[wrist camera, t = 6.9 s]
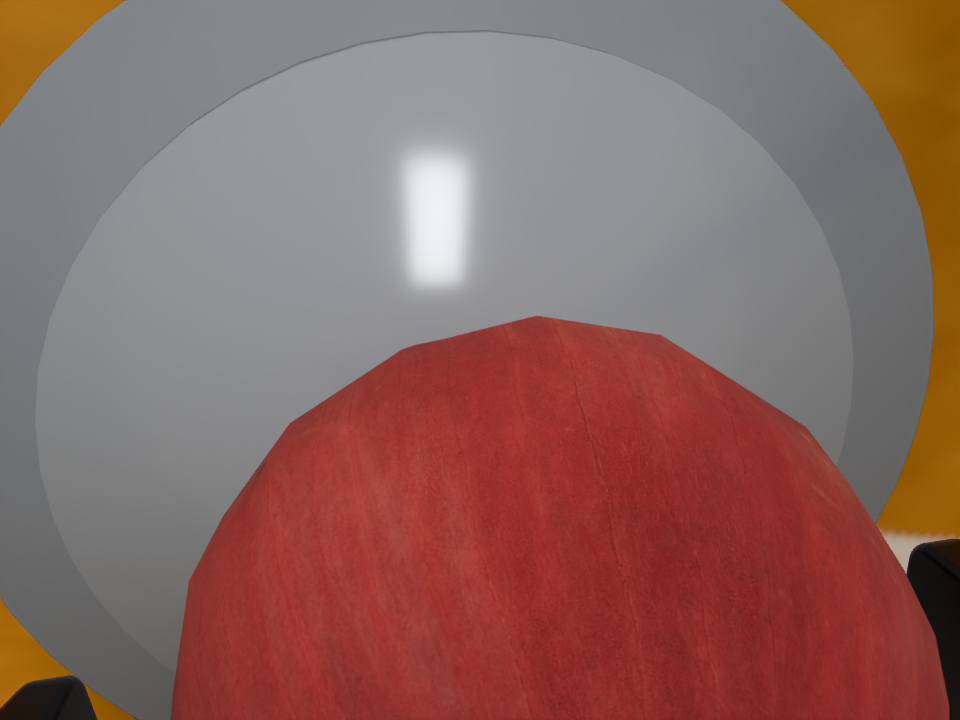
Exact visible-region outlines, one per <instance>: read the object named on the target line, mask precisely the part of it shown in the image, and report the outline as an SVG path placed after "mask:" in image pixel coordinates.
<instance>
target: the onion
mask: <svg viewBox="0 0 960 720" xmlns="http://www.w3.org/2000/svg"><path fill="white" fill-rule="evenodd" d="M171 720H949V702H948V697H947V692H946V687H945V682H944V677H943V672H942V667H941V661H940V656H939V651H938V646H937V641H936V636H935V634H934V631H933V629H932V627H931V625H930V623H929V621H928V619H927V617H926V615H925V613H924V611H923V609H922V606H921V604H920V602H919V600H918V598H917V596H916V594H915V592H914V590H913V588H912V586H911V584H910V581H909V579H908V577H907V575H906V573H905V571H904V569H903V568H902V566H901V564H900V563H899V561H898V560H897V558H896V556H895V555H894V554H893V552H892V550H891V549H890V547H889V545H888V544H887V542H886V541H885V539H884V537H883V536H882V534H881V533H880V531H879V529H878V528H877V526H876V525H875V523H874V522H873V520H872V518H871V517H870V515H869V514H868V512H867V510H866V509H865V507H864V506H863V504H862V502H861V501H860V499H859V498H858V496H857V494H856V493H855V491H854V490H853V488H852V487H851V485H850V484H849V483H848V481H847V480H846V479H845V477H844V476H843V475H842V473H841V472H840V471H839V469H838V468H837V467H836V465H835V464H834V463H833V461H832V460H831V459H830V457H829V456H828V455H827V454H826V452H825V451H824V450H823V448H822V447H821V446H820V444H819V443H818V442H817V440H816V439H815V438H814V436H813V435H812V434H811V432H810V431H809V430H808V428H807V427H806V426H804V425H802V424H801V423H799V422H798V421H796V420H795V419H793V418H791V417H790V416H788V415H787V414H785V413H784V412H782V411H780V410H779V409H777V408H776V407H774V406H773V405H771V404H770V403H768V402H766V401H765V400H763V399H762V398H760V397H759V396H757V395H755V394H754V393H752V392H751V391H749V390H748V389H746V388H744V387H743V386H741V385H740V384H738V383H737V382H735V381H734V380H732V379H730V378H729V377H727V376H726V375H724V374H723V373H721V372H719V371H718V370H716V369H715V368H713V367H712V366H710V365H708V364H707V363H705V362H704V361H702V360H700V359H699V358H697V357H696V356H694V355H692V354H691V353H689V352H688V351H686V350H684V349H683V348H681V347H680V346H678V345H676V344H675V343H673V342H671V341H670V340H668V339H667V338H665V337H663V336H662V335H659V334H653V333H646V332H640V331H633V330H627V329H620V328H614V327H607V326H601V325H594V324H588V323H581V322H575V321H569V320H562V319H556V318H549V317H543V316H533V317H529V318H525V319H521V320H517V321H513V322H509V323H505V324H501V325H497V326H493V327H489V328H485V329H481V330H477V331H473V332H469V333H465V334H461V335H457V336H453V337H449V338H445V339H441V340H436V341H431V342H427V343H422V344H417V345H413V346H411V347H408V348H405V349H402V350H400V351H399V352H397V353H396V354H394V355H393V356H391V357H390V358H388V359H387V360H385V361H384V362H382V363H380V364H379V365H377V366H376V367H374V368H373V369H371V370H370V371H368V372H367V373H365V374H364V375H362V376H361V377H359V378H358V379H356V380H355V381H353V382H352V383H350V384H349V385H347V386H345V387H344V388H342V389H341V390H339V391H338V392H336V393H335V394H333V395H332V396H330V397H329V398H327V399H326V400H324V401H323V402H321V403H320V404H318V405H317V406H315V407H314V408H312V409H310V410H309V411H307V412H306V413H304V414H303V415H301V416H300V417H298V418H297V419H295V420H294V421H292V422H291V423H289V425H288V426H287V428H286V429H285V430H284V432H283V433H282V435H281V436H280V437H279V439H278V440H277V442H276V443H275V444H274V446H273V447H272V449H271V450H270V451H269V453H268V454H267V455H266V457H265V458H264V460H263V461H262V462H261V464H260V465H259V467H258V468H257V469H256V471H255V472H254V474H253V475H252V476H251V478H250V479H249V481H248V482H247V483H246V485H245V486H244V488H243V489H242V490H241V492H240V493H239V495H238V496H237V497H236V499H235V500H234V501H233V503H232V504H231V506H230V507H229V508H228V510H227V511H226V513H225V514H224V515H223V517H222V519H221V521H220V523H219V525H218V526H217V528H216V530H215V532H214V534H213V536H212V538H211V540H210V542H209V544H208V546H207V547H206V549H205V551H204V553H203V555H202V557H201V559H200V561H199V563H198V565H197V566H196V568H195V570H194V572H193V574H192V576H191V578H190V580H189V584H188V591H187V598H186V605H185V612H184V619H183V626H182V633H181V640H180V647H179V654H178V661H177V668H176V675H175V682H174V689H173V698H172V710H171Z"/></svg>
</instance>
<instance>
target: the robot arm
mask: <svg viewBox="0 0 960 720" xmlns="http://www.w3.org/2000/svg"><path fill="white" fill-rule="evenodd" d="M906 575H907V577H908V579H909V581H910V584H911V586H912V588H913V590H914V592H915V594H916V596H917V598H918V600H919V602H920V604H921V606H922V609H923V611H924V613H925V615H926V617H927V619H928V621H929V623H930V625H931V627H932V629H933V631H934V634H935V636H936V641H937V646H938V651H939V656H940V661H941V667H942V672H943V677H944V682H945V687H946V692H947V697H948V702H949V720H960V539H948V540H941V541H935V542H928V543H923V544H920V545H918V546H916V547H915V548H914V549H913V551H912V552H911V554H910V558H909V563H908V568H907V574H906ZM0 720H97V717H96V715H95V712H94V709H93V707H92V704H91V701H90V699H89V696H88V693H87V691H86V688H85V686H84V684H83V683H82V681H81V680H80V679H79V678H77V677H75V676H63V677H56V678H50V679H43V680H37V681H33V682H30V683H27V684H26V685H24V686H23V687H21V688H20V689H19V690H18V691H17V692H16V693H15V694H14V695H13V696H12V697H11V698H10V699H9V700H8V701H7V702H6V703H5V704H4V705H3V706H2V707H1V708H0Z"/></svg>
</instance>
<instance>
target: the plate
mask: <svg viewBox="0 0 960 720" xmlns="http://www.w3.org/2000/svg"><path fill="white" fill-rule="evenodd" d="M533 316H543V317H549V318H556V319H562V320H569V321H575V322H581V323H588V324H594V325H601V326H607V327H614V328H620V329H627V330H633V331H640V332H646V333H653V334H659V335H662V336H663V337H665V338H667V339H668V340H670V341H671V342H673V343H675V344H676V345H678V346H680V347H681V348H683V349H684V350H686V351H688V352H689V353H691V354H692V355H694V356H696V357H697V358H699V359H700V360H702V361H704V362H705V363H707V364H708V365H710V366H712V367H713V368H715V369H716V370H718V371H719V372H721V373H723V374H724V375H726V376H727V377H729V378H730V379H732V380H734V381H735V382H737V383H738V384H740V385H741V386H743V387H744V388H746V389H748V390H749V391H751V392H752V393H754V394H755V395H757V396H759V397H760V398H762V399H763V400H765V401H766V402H768V403H770V404H771V405H773V406H774V407H776V408H777V409H779V410H780V411H782V412H784V413H785V414H787V415H788V416H790V417H791V418H793V419H795V420H796V421H798V422H799V423H801V424H802V425H804V426H806V427H807V428H808V430H809V431H810V432H811V434H812V435H813V436H814V438H815V439H816V440H817V442H818V443H819V444H820V446H821V447H822V448H823V450H824V451H825V452H826V454H827V455H828V456H829V457H830V459H831V460H832V461H833V463H834V464H835V465H836V467H837V468H838V469H839V471H840V472H841V473H842V475H843V476H844V477H845V479H846V480H847V481H848V483H849V484H850V485H851V487H852V488H853V490H854V491H855V493H856V494H857V496H858V498H859V499H860V501H861V502H862V504H863V506H864V507H865V509H866V510H867V512H868V514H869V515H870V517H871V518H872V520H873V522H874V523H875V524H876V522H877V520H878V518H879V516H880V514H881V512H882V511H883V509H884V507H885V505H886V503H887V501H888V499H889V497H890V495H891V493H892V491H893V490H894V488H895V486H896V484H897V482H898V479H899V476H900V474H901V471H902V468H903V466H904V463H905V461H906V458H907V455H908V453H909V450H910V447H911V445H912V442H913V440H914V437H915V434H916V431H917V427H918V422H919V418H920V414H921V410H922V406H923V402H924V398H925V394H926V389H927V385H928V381H929V372H930V362H931V353H932V343H933V334H934V305H933V278H932V266H931V261H930V255H929V250H928V245H927V239H926V234H925V228H924V223H923V218H922V213H921V210H920V207H919V204H918V201H917V198H916V195H915V193H914V190H913V187H912V184H911V181H910V178H909V175H908V173H907V170H906V167H905V164H904V161H903V158H902V156H901V154H900V152H899V150H898V148H897V146H896V145H895V143H894V141H893V139H892V137H891V135H890V133H889V132H888V130H887V128H886V126H885V124H884V122H883V120H882V119H881V117H880V115H879V113H878V111H877V109H876V107H875V106H874V104H873V102H872V100H871V99H870V98H869V96H868V95H867V94H866V92H865V91H864V90H863V89H862V87H861V86H860V85H859V83H858V82H857V81H856V79H855V78H854V77H853V75H852V74H851V73H850V72H849V70H848V69H847V68H846V66H845V65H844V64H843V62H842V61H841V60H840V58H839V57H838V56H837V55H836V53H835V52H834V51H833V49H832V48H831V47H830V46H829V45H828V44H826V43H825V42H824V41H823V40H822V39H821V38H820V37H819V36H818V35H817V34H816V33H815V32H814V31H813V30H812V29H811V28H810V27H809V26H807V25H806V24H805V23H804V22H803V21H802V20H801V19H800V18H799V17H798V16H797V15H796V14H795V13H794V12H793V11H792V10H791V9H790V8H788V7H787V6H786V5H785V4H784V3H783V2H782V1H781V0H126V1H124V2H123V3H121V4H120V5H118V6H117V7H116V8H114V9H113V10H111V11H110V12H108V13H107V14H105V15H104V16H102V17H101V18H100V19H99V20H98V21H97V22H96V23H94V24H93V25H92V26H91V27H90V28H89V29H88V30H87V31H86V32H85V33H84V34H83V35H82V36H81V37H80V38H79V39H77V40H76V41H75V42H74V43H73V44H72V45H71V46H70V47H69V48H68V49H67V50H66V51H65V52H64V53H63V54H62V55H60V56H59V57H58V58H57V59H56V60H55V61H54V62H53V63H52V64H51V65H50V66H49V67H48V68H47V69H46V70H45V71H43V72H42V73H41V75H40V76H39V77H38V79H37V80H36V81H35V82H34V84H33V85H32V86H31V88H30V89H29V90H28V92H27V93H26V94H25V95H24V97H23V98H22V99H21V101H20V102H19V103H18V104H17V106H16V107H15V108H14V110H13V111H12V112H11V114H10V115H9V116H8V117H7V119H6V120H5V121H4V123H3V124H2V125H1V126H0V598H1V599H2V601H3V602H4V604H5V605H6V607H7V608H8V609H9V611H10V612H11V614H12V615H13V616H14V617H15V618H16V619H17V620H18V621H19V622H20V624H21V625H22V626H23V627H24V628H25V629H26V630H27V631H28V632H29V633H30V634H31V635H32V636H33V637H34V639H35V640H36V641H37V642H38V643H39V644H40V645H41V646H42V647H43V648H44V649H45V650H46V651H47V652H48V654H49V655H50V656H52V657H53V658H54V659H55V660H56V661H58V662H59V663H60V664H61V665H62V666H64V667H65V668H66V669H67V670H68V671H70V672H71V673H72V674H73V675H74V676H76V677H77V678H79V679H80V680H81V681H82V682H83V683H84V684H85V685H87V686H88V687H89V688H90V689H91V690H93V691H94V692H96V693H97V694H99V695H100V696H102V697H103V698H105V699H106V700H108V701H110V702H111V703H113V704H114V705H116V706H117V707H119V708H120V709H122V710H124V711H125V712H127V713H128V714H130V715H131V716H133V717H134V718H136V719H138V720H171V710H172V698H173V689H174V682H175V675H176V668H177V661H178V654H179V647H180V640H181V633H182V626H183V619H184V612H185V605H186V598H187V591H188V584H189V580H190V578H191V576H192V574H193V572H194V570H195V568H196V566H197V565H198V563H199V561H200V559H201V557H202V555H203V553H204V551H205V549H206V547H207V546H208V544H209V542H210V540H211V538H212V536H213V534H214V532H215V530H216V528H217V526H218V525H219V523H220V521H221V519H222V517H223V515H224V514H225V513H226V511H227V510H228V508H229V507H230V506H231V504H232V503H233V501H234V500H235V499H236V497H237V496H238V495H239V493H240V492H241V490H242V489H243V488H244V486H245V485H246V483H247V482H248V481H249V479H250V478H251V476H252V475H253V474H254V472H255V471H256V469H257V468H258V467H259V465H260V464H261V462H262V461H263V460H264V458H265V457H266V455H267V454H268V453H269V451H270V450H271V449H272V447H273V446H274V444H275V443H276V442H277V440H278V439H279V437H280V436H281V435H282V433H283V432H284V430H285V429H286V428H287V426H288V425H289V423H291V422H292V421H294V420H295V419H297V418H298V417H300V416H301V415H303V414H304V413H306V412H307V411H309V410H310V409H312V408H314V407H315V406H317V405H318V404H320V403H321V402H323V401H324V400H326V399H327V398H329V397H330V396H332V395H333V394H335V393H336V392H338V391H339V390H341V389H342V388H344V387H345V386H347V385H349V384H350V383H352V382H353V381H355V380H356V379H358V378H359V377H361V376H362V375H364V374H365V373H367V372H368V371H370V370H371V369H373V368H374V367H376V366H377V365H379V364H380V363H382V362H384V361H385V360H387V359H388V358H390V357H391V356H393V355H394V354H396V353H397V352H399V351H400V350H402V349H405V348H408V347H411V346H413V345H417V344H422V343H427V342H431V341H436V340H441V339H445V338H449V337H453V336H457V335H461V334H465V333H469V332H473V331H477V330H481V329H485V328H489V327H493V326H497V325H501V324H505V323H509V322H513V321H517V320H521V319H525V318H529V317H533Z"/></svg>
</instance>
